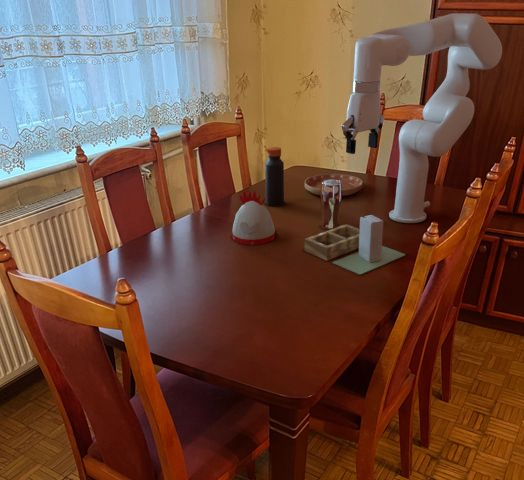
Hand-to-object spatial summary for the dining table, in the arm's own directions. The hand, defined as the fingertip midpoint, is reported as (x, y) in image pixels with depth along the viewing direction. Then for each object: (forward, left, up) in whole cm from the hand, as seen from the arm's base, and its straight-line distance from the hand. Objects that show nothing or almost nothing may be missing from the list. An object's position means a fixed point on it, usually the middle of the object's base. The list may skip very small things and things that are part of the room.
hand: (361, 150), depth 163 cm
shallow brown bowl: (-27, -37, -26) cm, 53 cm away
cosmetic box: (+12, +16, -26) cm, 33 cm away
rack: (+13, +4, -26) cm, 30 cm away
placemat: (+12, +17, -26) cm, 33 cm away
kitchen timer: (+26, -21, -26) cm, 43 cm away
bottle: (0, -41, -26) cm, 49 cm away
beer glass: (+2, -10, -26) cm, 28 cm away
